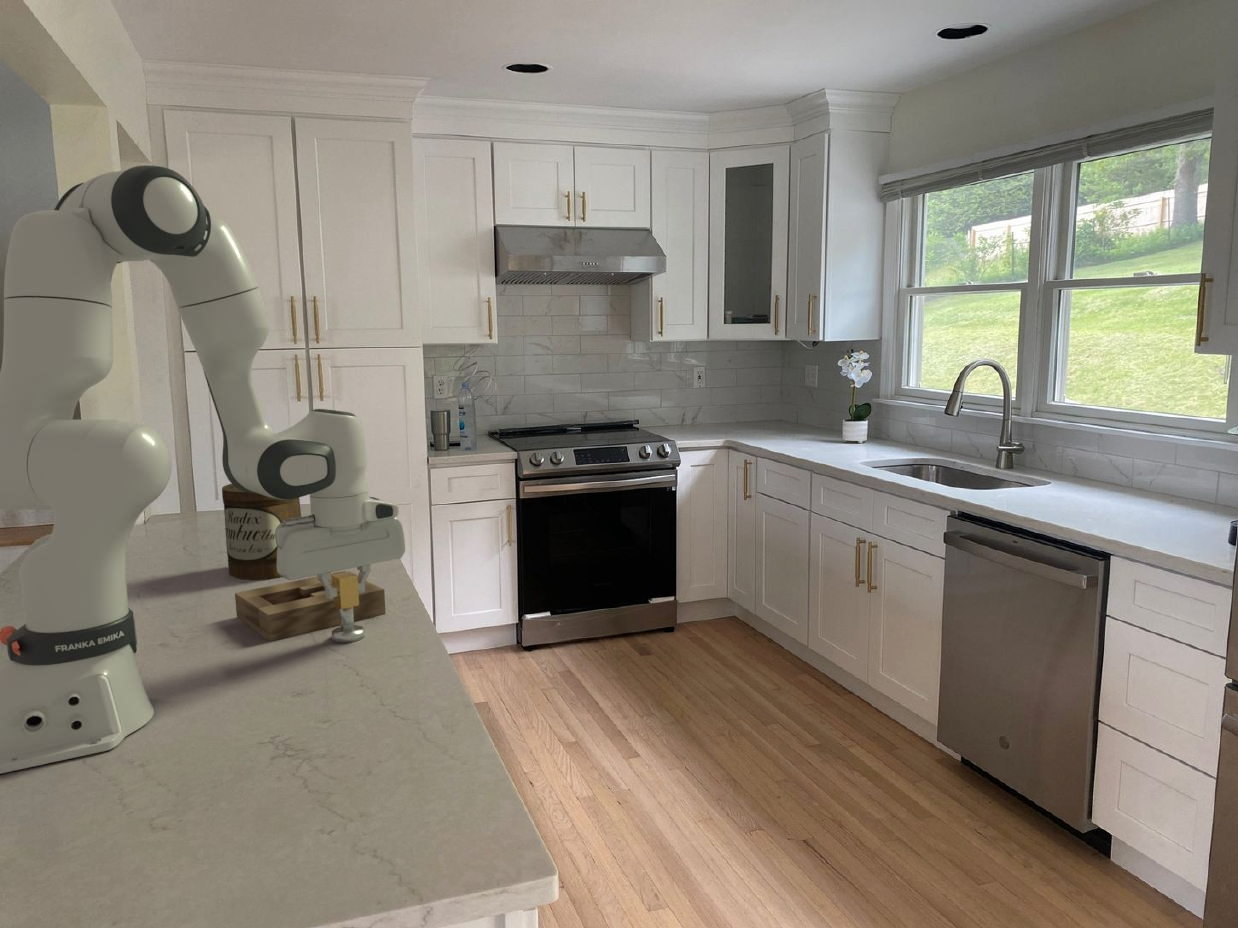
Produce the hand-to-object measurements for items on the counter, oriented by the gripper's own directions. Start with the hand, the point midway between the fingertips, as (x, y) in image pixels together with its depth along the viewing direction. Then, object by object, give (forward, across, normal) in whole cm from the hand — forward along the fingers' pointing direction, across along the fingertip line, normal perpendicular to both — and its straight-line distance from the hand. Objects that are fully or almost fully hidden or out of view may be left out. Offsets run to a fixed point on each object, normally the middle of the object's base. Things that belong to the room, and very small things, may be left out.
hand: (345, 595), depth 141 cm
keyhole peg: (+7, 0, 0) cm, 7 cm away
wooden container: (+7, +5, +50) cm, 51 cm away
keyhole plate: (+7, 0, +15) cm, 17 cm away
